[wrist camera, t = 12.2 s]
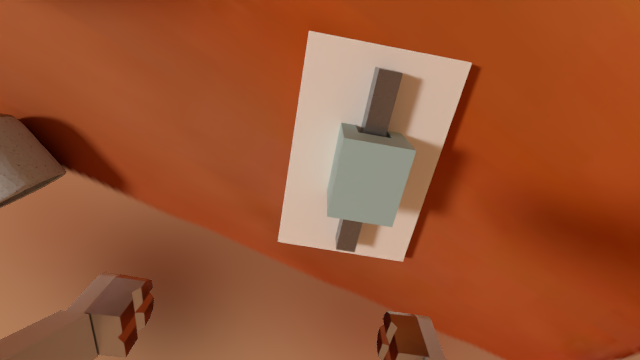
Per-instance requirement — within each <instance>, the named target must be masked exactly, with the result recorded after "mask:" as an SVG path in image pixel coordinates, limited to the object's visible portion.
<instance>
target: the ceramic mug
mask: <svg viewBox="0 0 640 360" xmlns="http://www.w3.org/2000/svg"><path fill="white" fill-rule="evenodd" d="M65 173H66V171H65V169H64V168H63V167H62V166H61V165H60V164H59V163H58V162H57V161H56V160H55V158H54V157H53V156H52V155H51V154H50V153H49V152H48V151H47V149H46V148H45V147H44V146H43V145H42V144H41V143H40V142H39V141H38V140H37V139H36V138H35V136H34V135H33V134H32V133H31V132H30V131H29V130H28V129H27V128H26V126H25V125H24V124H22V123H21V122H20V121H19V120H18V119H16V118H15V117H13V116H11V115H7V114H1V113H0V208H1V207H3V206H6V205H8V204H10V203H12V202H14V201H16V200H18V199H20V198H22V197H25V196H26V195H29V194H31V193H33V192H35V191H36V190H39V189H41V188H42V187H44V186H46V185H48V184H50V183H51V182H53V181H55V180H57V179H59V178H60V177H62V176H63V175H64V174H65Z"/></svg>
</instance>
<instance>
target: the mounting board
mask: <svg viewBox="0 0 640 360" xmlns="http://www.w3.org/2000/svg"><path fill="white" fill-rule="evenodd" d="M471 65H472V63H471V62H465V61H460V60H455V59H450V58H445V57H440V56H435V55H430V54H425V53H420V52H415V51H409V50H404V49H399V48H394V47H389V46H384V45H379V44H374V43H369V42H364V41H359V40H354V39H348V38H343V37H338V36H333V35H328V34H323V33H318V32H313V31H309V34H308V41H307V47H306V54H305V61H304V68H303V74H302V81H301V88H300V95H299V101H298V108H297V115H296V122H295V128H294V135H293V142H292V149H291V155H290V162H289V169H288V176H287V182H286V189H285V196H284V203H283V209H282V216H281V223H280V230H279V236H278V242H283V243H289V244H295V245H301V246H308V247H314V248H320V249H327V250H333V251H339V252H345V253H352V254H358V255H364V256H370V257H377V258H383V259H389V260H395V261H402V262H403V259H404V257H405V254H406V251H407V248H408V245H409V242H410V239H411V236H412V234H413V231H414V228H415V225H416V222H417V219H418V216H419V214H420V211H421V208H422V205H423V202H424V199H425V196H426V194H427V191H428V188H429V185H430V182H431V179H432V176H433V173H434V171H435V168H436V165H437V162H438V159H439V156H440V153H441V151H442V148H443V145H444V142H445V139H446V136H447V133H448V131H449V128H450V125H451V122H452V119H453V116H454V113H455V111H456V108H457V105H458V102H459V99H460V96H461V93H462V90H463V88H464V85H465V82H466V79H467V76H468V73H469V70H470V68H471ZM375 67H379V68H384V69H389V70H395V71H399V72H402V73H403V75H402V79H401V82H400V86H399V90H398V93H397V97H396V101H395V105H394V108H393V112H392V116H391V119H390V123H389V127H388V130H387V131H391V132H397V133H401V134H402V135H403V136H404V137H405V138H406V139H407V141H408V142H409V143H410V144H411V145H412V146H413V147H414V149H415V150H416V153H415V156H414V160H413V163H412V166H411V169H410V172H409V176H408V179H407V182H406V185H405V188H404V191H403V195H402V198H401V201H400V204H399V207H398V210H397V214H396V217H395V220H394V223H393V226H392V227H387V226H381V225H375V224H369V223H362V227H361V231H360V234H359V238H358V242H357V245H356V249H355V252H350V251H343V250H337V249H336V240H335V237H336V232H337V228H338V224H339V220H340V219H338V218H332V217H327V188H328V183H329V178H330V173H331V168H332V163H333V159H334V154H335V149H336V144H337V139H338V134H339V130H340V125H341V123H347V124H352V125H356V128H357V130H358V132H360V130H361V126H362V122H363V117H364V113H365V109H366V104H367V100H368V96H369V92H370V87H371V83H372V79H373V75H374V70H375Z"/></svg>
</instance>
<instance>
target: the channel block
mask: <svg viewBox="0 0 640 360" xmlns="http://www.w3.org/2000/svg"><path fill="white" fill-rule="evenodd" d="M415 153H416V150H415V149H414V147H413V146H412V145H411V144H410V143H409V142H408V141H407V139H406V138H405V137H404V136H403V135H402V134H401V133H397V132H391V131H387V134H386V137H382V136H376V135H371V134H365V133H360V132H358V130H357V128H356V125H352V124H347V123H341V125H340V130H339V134H338V139H337V144H336V149H335V154H334V159H333V163H332V168H331V173H330V178H329V183H328V188H327V217H332V218H338V219H344V220H351V221H357V222H363V223H369V224H375V225H381V226H387V227H392V226H393V223H394V220H395V217H396V214H397V210H398V207H399V204H400V201H401V198H402V195H403V191H404V188H405V185H406V182H407V179H408V176H409V172H410V169H411V166H412V163H413V160H414V156H415Z"/></svg>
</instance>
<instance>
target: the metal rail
mask: <svg viewBox="0 0 640 360" xmlns="http://www.w3.org/2000/svg"><path fill="white" fill-rule="evenodd" d="M402 75H403V73H402V72H399V71H395V70H389V69H384V68H379V67H375V70H374V75H373V79H372V83H371V87H370V92H369V96H368V100H367V104H366V109H365V113H364V117H363V122H362V126H361V130H360V133H365V134H371V135H376V136H382V137H386V134H387V130H388V127H389V123H390V119H391V116H392V112H393V108H394V105H395V101H396V97H397V93H398V90H399V86H400V82H401V79H402ZM362 223H363V222H357V221H351V220H344V219H340V220H339V224H338V228H337V232H336V237H335V240H336V249H337V250H343V251H350V252H355V249H356V245H357V242H358V238H359V234H360V231H361V227H362Z"/></svg>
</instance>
